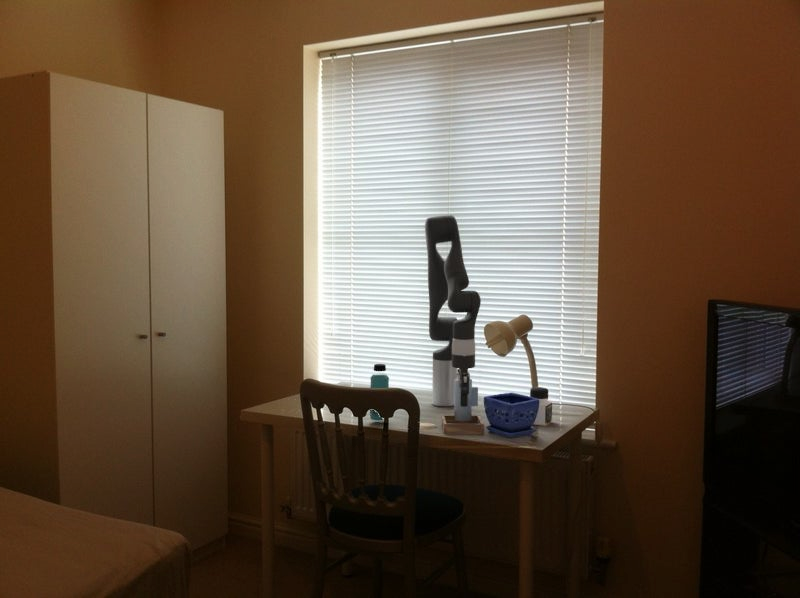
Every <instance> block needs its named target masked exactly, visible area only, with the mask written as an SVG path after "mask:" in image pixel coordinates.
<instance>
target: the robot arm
mask: <svg viewBox="0 0 800 598" xmlns="http://www.w3.org/2000/svg"><path fill="white" fill-rule="evenodd" d="M424 234H425V235H424V237H425V245H426V252H427V253H426V254H427V286H428V300H429V302H428V303H429V310H428V311H429V316H428V318H429V320H428V333H429V334H428V335H429V338H430V340H432V341H435V342H448V344H447V345H446V346H444V347H441V348H440V349H436V350H434V351H433V353H432V395H431V396H432V398H431V400H432V401H431V403H432V405H433V406H437V407H454V394H455V379H458V381H459V388H460V405H461V406H462V407H467V405H468V394H469V386H470V385H469V379H471V374H470V372H469V371H468V370H469V369H473V368H475V367H476V340H475V339H476V338H475V337H476V334H475V332H476V322H477V318H478V314H479V311H480V308H481V302H482V301H481V296H480V294H479V292H478V291H476V290H473V289H472V290H465V289H467V288H468V287H469V284H470V279H469V275H468V272H467V268H466V266H465V262H464V256H463V249H462V244H461V242H462V241H461V237H460V230H459V225H458V223H457V219H456V218H455V216H454V215H453V214H446V215H437V216H431V217H427V218H426V219H425V222H424ZM448 242H449V243H450V244H451V245H450V249H449V251H448V254H447V256H446V259H444V258H443V257H442V255H441V253H440V252H439V250H438V249H437V244H442V243H448ZM445 303H447V308H448V309H449V310H450V312H452V313H454V314H455V313H458V314H459V313H466V314H465V316H464V317H463V318H461V319H458V318H457V317H455V316H439V313H440V312H441V310H442V309H443V306H444V304H445ZM460 381H461V384H460ZM463 388H466V390H463Z"/></svg>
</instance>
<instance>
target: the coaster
mask: <svg viewBox="0 0 800 598" xmlns="http://www.w3.org/2000/svg"><path fill="white" fill-rule="evenodd" d="M419 423H420V430H419V431H431V430H435V429H437V427H438V426H437V425H436V424H434V423H429V422H419ZM406 428H407V425H406Z"/></svg>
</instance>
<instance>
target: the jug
mask: <svg viewBox="0 0 800 598" xmlns="http://www.w3.org/2000/svg"><path fill="white" fill-rule="evenodd" d="M460 384H461V381H460ZM469 385H470V386H469V394H468V405H467V407H462V406H461V405H460V388H459V381H458V379H455V394H454V406H453V409H454V414H453V415H454V420H456V421H471V420H472V415H473V414H472V412H473V410H472V409H473V407H479V404H478V403H479V387H478V386H473V379H471V378H470V379H469ZM463 390H466V388H463Z"/></svg>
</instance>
